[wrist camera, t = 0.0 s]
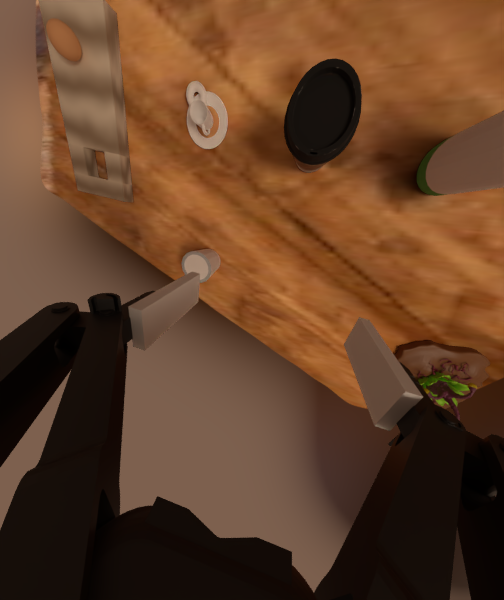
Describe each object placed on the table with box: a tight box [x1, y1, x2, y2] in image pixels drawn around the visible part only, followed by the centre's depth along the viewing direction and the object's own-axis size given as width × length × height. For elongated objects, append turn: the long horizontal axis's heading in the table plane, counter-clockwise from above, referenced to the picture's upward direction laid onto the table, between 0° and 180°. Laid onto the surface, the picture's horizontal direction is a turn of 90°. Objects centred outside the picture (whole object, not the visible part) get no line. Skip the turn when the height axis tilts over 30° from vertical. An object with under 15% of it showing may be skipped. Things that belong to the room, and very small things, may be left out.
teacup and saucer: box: [186, 81, 228, 149], centre depth 32 cm, size 9×8×4 cm
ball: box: [46, 18, 82, 61], centre depth 29 cm, size 4×4×4 cm
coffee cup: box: [284, 59, 362, 173], centre depth 26 cm, size 8×8×15 cm
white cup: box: [182, 249, 220, 283], centre depth 42 cm, size 7×7×7 cm
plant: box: [394, 340, 490, 420], centre depth 41 cm, size 20×20×11 cm
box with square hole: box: [39, 0, 133, 202], centre depth 36 cm, size 28×12×2 cm, turn 169°
